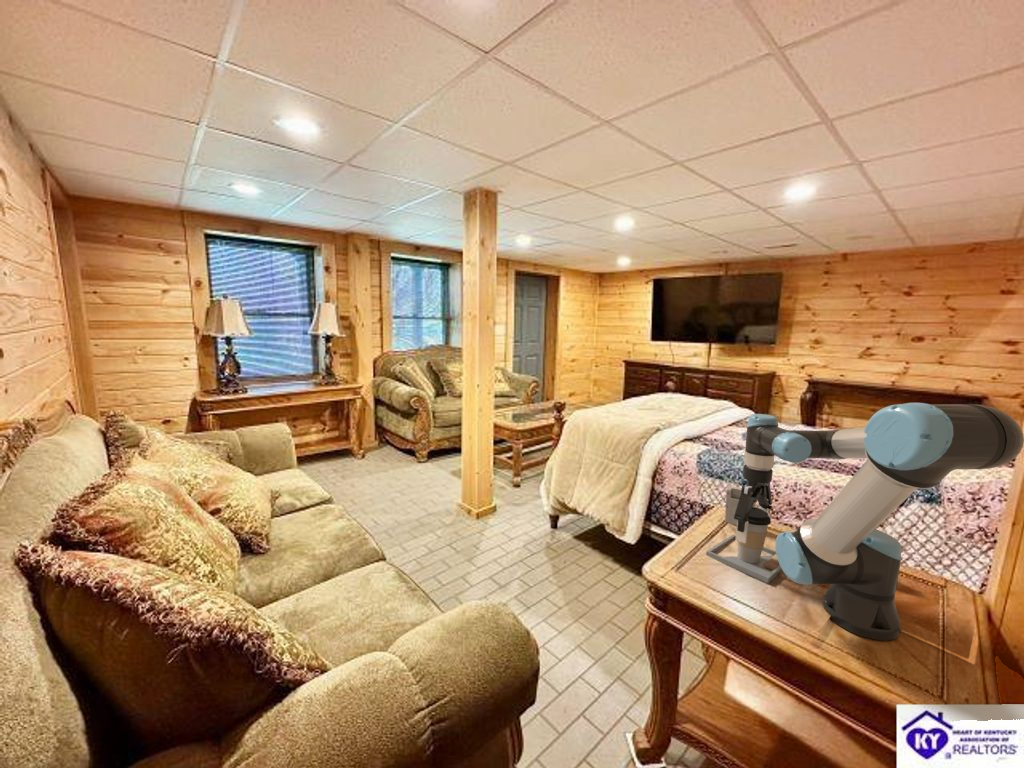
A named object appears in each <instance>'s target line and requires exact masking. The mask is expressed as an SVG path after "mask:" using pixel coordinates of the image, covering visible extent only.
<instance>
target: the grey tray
mask: <svg viewBox="0 0 1024 768" xmlns="http://www.w3.org/2000/svg"><path fill="white" fill-rule="evenodd" d="M734 539H735V540H736V534H732V535H730V536H728V537H727V538H726V539H724V540H722V541H721V542H719V543H717V544H715V545H714V546H713V547H711V548H709V549H707V551H706V552H705V555H706V556H708V557H709V558H712V560H713V559H714V560H715V561H718V562H720V563H721V564H724V565H725V566H727V567H730V568H731V569H733V570H736V571H738V572H740V573H742V574H744V575H746V576H748V577H750V578H753V579H755V580H758V581H759V582H762V583H764V584H766V585H769V584H771V582H772V581H773V580H775V579H776V577H778V576H780V575H781V573H780V572H781V571H783V570H782V568H781V566H780V564H778V566H777V567H776V568H774V569H771V568H769V567H767V566H765V565H766V564H767V563H768V561H770V560H772V558H773V557H774V556H775V555H776V550H775V549H772V548H769V547H766V546H764V547H763V548H762V552H765V553H767V554H770V555H761V557H760V561H759V563H756V564H752V563H747V562H744V561H742V560H740V559H739V557H738V556H721V555H719V554H717V553H716V552H717V551H719V550H720V549H721V548H722V547H724V546H725V545H727V544H728V543H729V542H731V541H732V540H734Z"/></svg>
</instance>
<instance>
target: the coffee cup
mask: <svg viewBox="0 0 1024 768" xmlns="http://www.w3.org/2000/svg"><path fill="white" fill-rule="evenodd" d="M747 521H748V531H747V541H746V543H743V542H740V541H738V540H736V541H737V542H736V543H737V557H739V559H740V560H742V561H744V562H747V563H752V564H756V563H759V561H760V557H761V556H762V553H763V551H762V548H763V547H765V543H766V541H765V540H766V537H767V533H768V526H769V525H770V524H771V523H772V521H771V517H770V516H769V512H768V513H767V512H765V511H764V510H761V509H759V508H758V507H756V508H755V507H752V509H751V512H750V514H749V517H748V519H747Z"/></svg>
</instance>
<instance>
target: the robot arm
mask: <svg viewBox="0 0 1024 768" xmlns="http://www.w3.org/2000/svg"><path fill="white" fill-rule="evenodd" d="M1023 447H1024V432H1023V429H1022V428H1021V426H1020V425H1019V423H1018V422H1017V420H1016V419H1014V418H1013V417H1012V416H1011V415H1009V414H1008V413H1006V412H1005V411H1003V410H1000V409H998V408H995V407H993V406H989V405H982V404H977V403H976V404H974V403H965V404H963V403H958V404H957V403H955V404H954V403H953V404H948V403H945V404H943V403H942V404H941V403H940V404H935V403H934V404H929V403H925V402H906V403H899V404H892V405H887V406H886V407H883V408H881V409H879V410H878V411H876V412H875V413H874V414H873V415H872V416H871V417H870V418H869V419H868V421H867V423H866V425H865V427H864V426H863V427H855V428H854V427H853V428H844V429H843V428H842V429H832V430H831V429H830V430H828V429H827V430H810V429H809V430H807V429H805V430H803V429H801V430H797V429H795V430H793V429H792V430H791V429H789V430H788V429H784V428H781V427H779V420H778V417H777V416H774V415H771V414H766V413H764V414H763V413H752V414H750V415H749V416H748V422H747V426H746V437H745V450H744V451H745V452H743V456H744V459H743V460H744V461H743V463H744V465H743V469H742V477H743V479H744V480H746V481H747V484H746V486H745V485H742V486H741V488H742V490H741V495H740V498H739V502H738V505H737V508H736V512H735V515H734V519H736V520H737V526H736V529H735V530H736V531H735V533H736V534H735V536H736V539H735V540H736V541H737V540H738V541H740V542H743V543H746V541H747V531H748V521H747V519H748V517H749V514H750V512H751V509H752V507H753V504H754V502H756V503H757V502H758V505H759V506H757V508H759V509H761V510H764V511H765V512H767V513H768V514H769V510H772V509H773V505H772V504H773V499H772V493H771V482H772V480H773V473H774V472H773V471H774V470H773V468H774V465H775V457H777V458H779V459H780V460H783V461H785V462H790V463H792V464H793V463H794V464H799V463H803V462H804V461H807V459H826V460H827V459H828V460H832V459H833V460H835V459H836V460H846V459H867V460H866V461H865V462H864V463H863V464H862V465H861V467H860V468H859V469H858V470H857V471H856V473H854V475H853V476H852V477H851V479H849V481H848V482H847V483H846V484H845V485H844V486H843V488H842V489H841V490H840V491H839V492H838V494H837V495H836V496H835V497H834V498H833V499H832V501H831V502H830V503H828V505H827V506H826V507H825V509H824V510H823V511H822V513H821V512H820V515H819V516H818V517H817V518H809V519H807V520H805V521H804V522H802V523H801V525H800V526H799V527H798V528H797V529H796V530H795V531H789V530H788V531H787V530H786V531H785V532H780V533H779V534H778V535H777V536H776V538H775V549H774V550H775V551H776V554H775V555H776V558H777V561H778V563H779V564H778V565H780V566H781V568H782V570H781V571H782V573H784V575H785V576H786V577H787V578H788V579H789V580H791V581H792V582H793V583H796V584H800V585H808V586H809V585H810V586H811V585H829V587H828V589H826V592H825V593H824V594H823V596H822V601H821V604H822V608H823V610H825V612H826V613H827V614H828V615H829V618H828V619H829V620H831V622H833V623H834V624H836V625H838V626H839V627H841V628H842V629H845V630H846V631H848V632H851V633H853V634H855V635H858V636H861V637H863V638H867V639H872V640H876V641H877V640H878V641H892V640H896V639H897V638H899V636H900V633H901V632H900V631H901V621H900V617H899V616H900V615H899V613H898V610H897V605H896V601H895V597H896V591H897V584H898V580H899V579H898V578H899V575H900V569H901V563H902V560H903V558H902V549H903V547H902V545H901V543H900V542H899V541H898V540H897V539H896V537H893V536H892V535H890V534H889V533H886V532H884V531H881V530H879V529H877V528H878V527H879V526H880V525H881V524H882V523H883V522H884V521H885V520H886V519H887V518H888V517H889V516H890V515H892V513H893V512H895V511H896V509H898V507H900V505H902V504H903V503H904V502H905V501H906V500H907V499H908V498H909V497H911V495H913V493H914V492H915V491H916V490H917V489H918V490H927V489H932V488H935V486H937V485H938V484H939V483H940V482H941V481H943V480H944V478H946V477H947V475H949V474H950V473H952V472H953V471H955V470H987V469H994V468H997V467H998V468H999V467H1002V466H1004V465H1006V464H1009V463H1010V462H1011V461H1013V460H1015V459H1016V458H1017V456H1018V455H1019V454H1020V453H1021V452H1022V449H1023Z"/></svg>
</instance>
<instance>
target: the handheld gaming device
mask: <svg viewBox="0 0 1024 768" xmlns="http://www.w3.org/2000/svg"><path fill="white" fill-rule="evenodd" d="M741 490H742V487H738V486H733V485H727V487H726V491H725V492H726V493H725V511H724V512H725V514H724V523H728V524H729V525H732V526H736V527H737V520H736V519H734V515H735V512H736V508H737V505H738V502H739V498H740V495H741ZM756 503H757V502H754V504H753V507H755V508H757V507H756V506H757V504H756Z"/></svg>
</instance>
